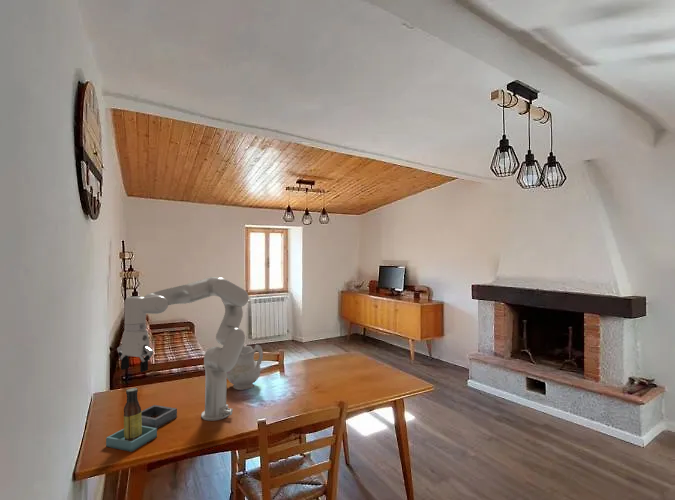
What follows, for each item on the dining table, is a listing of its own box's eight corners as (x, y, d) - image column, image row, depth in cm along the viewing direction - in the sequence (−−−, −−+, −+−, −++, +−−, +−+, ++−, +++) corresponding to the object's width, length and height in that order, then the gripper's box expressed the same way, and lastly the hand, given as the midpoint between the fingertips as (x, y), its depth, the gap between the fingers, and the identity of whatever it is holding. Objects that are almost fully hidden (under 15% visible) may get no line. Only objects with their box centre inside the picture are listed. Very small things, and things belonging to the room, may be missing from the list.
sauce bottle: (144, 435, 153) (145, 386, 154) (137, 443, 147) (137, 392, 148) (128, 435, 153) (128, 386, 154) (120, 443, 147) (120, 392, 147)
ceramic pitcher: (268, 384, 223) (269, 341, 226) (258, 393, 204) (259, 346, 206) (233, 382, 225) (234, 340, 228) (219, 391, 206) (221, 345, 208)
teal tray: (156, 436, 154) (157, 428, 154) (131, 451, 142) (131, 442, 142) (132, 432, 158) (132, 423, 158) (106, 446, 146) (106, 437, 146)
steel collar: (176, 417, 173) (177, 408, 173) (155, 429, 161) (155, 419, 161) (154, 413, 177) (154, 404, 177) (131, 425, 165) (131, 415, 165)
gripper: (159, 327, 152) (158, 369, 152) (126, 324, 158) (125, 365, 157) (145, 330, 145) (144, 375, 145) (110, 327, 150) (109, 370, 150)
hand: (134, 370), depth 151 cm, fingers open, 9 cm apart
